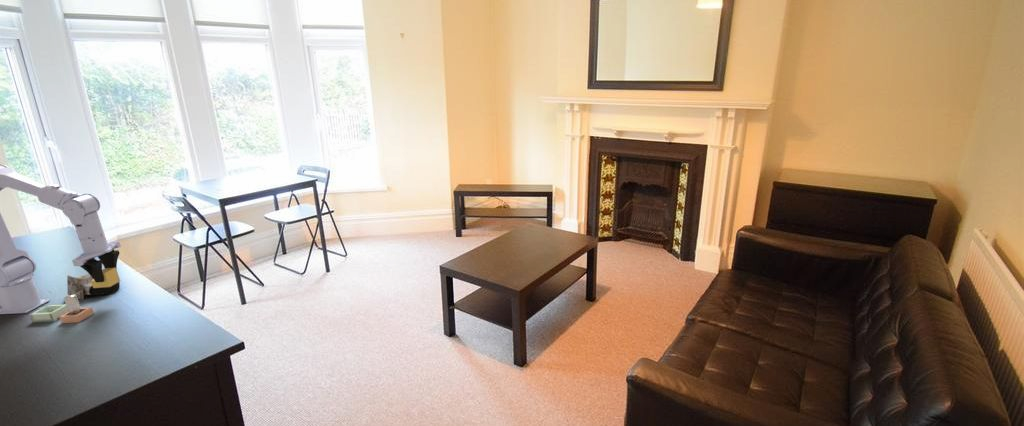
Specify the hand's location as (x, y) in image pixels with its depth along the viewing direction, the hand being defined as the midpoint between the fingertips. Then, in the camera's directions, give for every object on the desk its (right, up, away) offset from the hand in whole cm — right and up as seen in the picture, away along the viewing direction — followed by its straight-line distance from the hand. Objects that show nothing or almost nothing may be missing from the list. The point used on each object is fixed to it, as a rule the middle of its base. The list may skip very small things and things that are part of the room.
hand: (106, 278), depth 142 cm
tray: (-12, -11, -4) cm, 17 cm away
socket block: (-3, -11, -5) cm, 13 cm away
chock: (0, -2, +1) cm, 2 cm away
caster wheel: (-11, -6, +11) cm, 17 cm away
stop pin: (-3, -11, -5) cm, 13 cm away
